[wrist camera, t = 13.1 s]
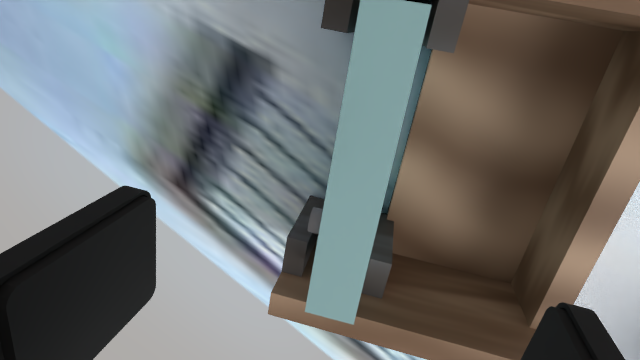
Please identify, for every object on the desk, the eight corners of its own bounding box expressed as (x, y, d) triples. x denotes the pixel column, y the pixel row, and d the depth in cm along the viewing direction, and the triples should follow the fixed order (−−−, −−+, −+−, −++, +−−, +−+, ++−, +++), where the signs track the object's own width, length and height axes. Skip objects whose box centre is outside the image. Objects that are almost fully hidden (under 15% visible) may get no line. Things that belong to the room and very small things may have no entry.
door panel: (361, 5, 23) (333, -11, 13) (419, 14, 22) (431, 4, 13) (323, 215, 28) (284, 306, 19) (369, 226, 28) (353, 324, 18)
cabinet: (353, -46, 22) (328, -84, 14) (660, 5, 20) (811, -9, 12) (302, 242, 29) (267, 314, 22) (522, 299, 27) (566, 399, 20)
